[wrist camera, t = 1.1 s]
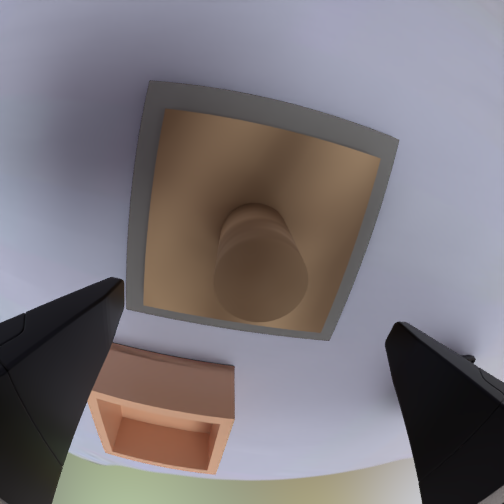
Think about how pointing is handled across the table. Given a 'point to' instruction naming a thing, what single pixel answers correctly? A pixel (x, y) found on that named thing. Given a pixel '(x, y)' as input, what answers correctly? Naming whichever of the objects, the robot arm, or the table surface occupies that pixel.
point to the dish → (163, 409)
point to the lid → (252, 221)
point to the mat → (260, 113)
